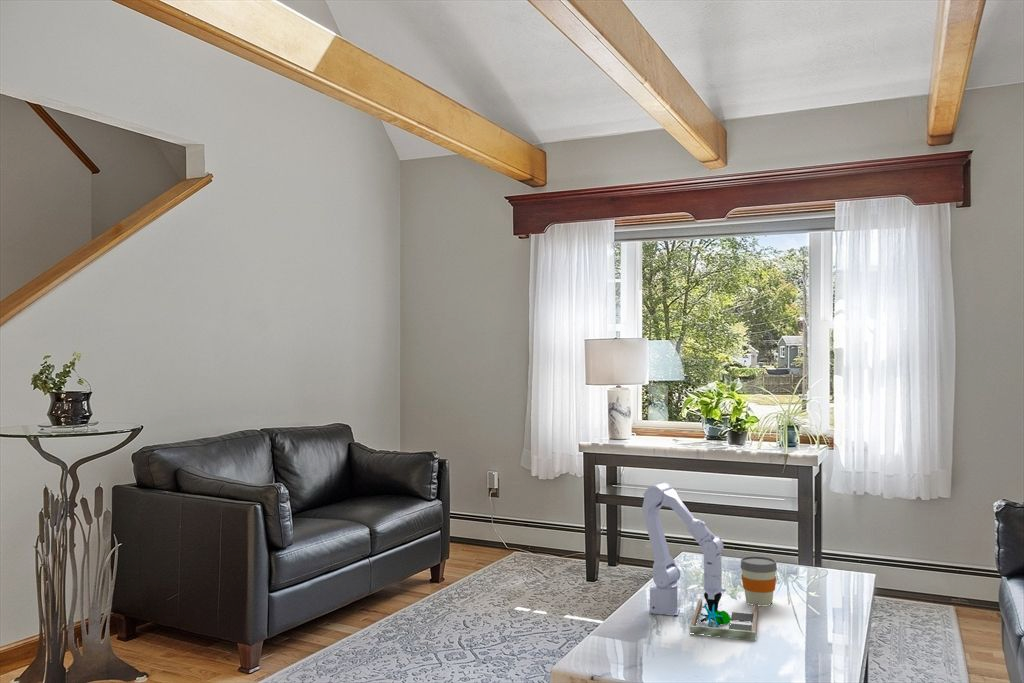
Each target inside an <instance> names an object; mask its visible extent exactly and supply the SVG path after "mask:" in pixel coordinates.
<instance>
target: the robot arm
mask: <svg viewBox="0 0 1024 683" xmlns="http://www.w3.org/2000/svg"><path fill="white" fill-rule="evenodd" d="M643 497H644V498H643V502H642V508H641V509H642V510H641V511H642V515H643V519H644V523H645V527H646V531H647V535H648V537H649V542H650V545H651V550H652V553H653V554H652V555H653V557H654V561H653V565H652V570H653V575H652V580H653V582H654V584H651V585H650V587H649V588H650V589H649V614H651V613H653V614H654V615H662V614H666V615H665V616H674V615H677V616H678V615H679V612H680V610H681V608H680V607H679V605H678V604H679V602H678V599H679V598H678V596H679V595H678V581H679V580H680V578H681V571H680V569H679V567H678V566H677V564H676V561H675V559H674V558H673V557H672V556H671V555H670V550H669V547H668V543H667V539H666V536H665V531H664V527H663V524H662V520H661V516H660V512H659V511H660V510H661V508H662V507H666V508H670V509H671V510H673V511H674V512H675V514H676V515H677V516H678V517H679V518H680V519H681V521H683V522H684V523H685V524H686V526H687V527H686V530H687V532H688V534H690V536H691V537H692V538H693V539H694V540H695V541H696V543H698V545H699V546H700V552H701V553H702V555H703V590H704V593H703V597H704V599H705V601H706V604H707V608H708V609H709V610H710V611H711V612H712V607H713V606H712V604H714V611H716V610H718V609H719V603H720V601H721V598H722V596H723V592H725V591H726V587H722V586H723V585H722V584H723V583H722V579H723V578H722V577H723V576H722V575H723V574H722V552H723V551H724V549H725V548H724V547H725V545H724V542H723V541H722V539H721V537H719V536H716V535H715V534H714V533H712V532H711V531H710V529H709V528H708V527H707V526H706V525H707V524H706V522H705V521H702V520H701V519H697V518H695V517H694V516H693V514H692V513H691V512H690V511H689V510H690V509H688V508H687V506H686V505H685V504H684V502H683V501H682V500H681V498H680V497H679V495H678V493H677V491H676V490H675V489H674V488H673V487H672V485H671V484H670V483H668V482H665V481H664V482H660V483H658V484H654V485H649V487H648V488H646V490H645V491H644V493H643ZM718 611H719V610H718Z"/></svg>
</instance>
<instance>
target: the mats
mask: <svg viewBox="0 0 1024 683" xmlns="http://www.w3.org/2000/svg"><path fill="white" fill-rule="evenodd" d="M730 618H731V621H733V620H739V621H738V622H744V621H751V622H750V623H753V621H752V620H753V618H754V613H747V612H731V616H730ZM730 624H731V625H730ZM752 627H753V624H752V625H751V624H741V623H732V622H730V623H729V627H728V629H735V630H745V631H752V630H751V629H752Z"/></svg>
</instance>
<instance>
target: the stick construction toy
mask: <svg viewBox="0 0 1024 683" xmlns="http://www.w3.org/2000/svg"><path fill="white" fill-rule="evenodd" d="M712 606H713V607H712V612H711V611H710V610H709V609H708V604H707V603H705V604H704V605H702V608H704V609H705V610H706V613H707V614H703V613H700V615H699V616H702V617H704V618H702V619H700V620H699V622H700V621H701V622H702V623H703V622H708V627H712V625H711V622H712V621H713V622H714V623H715V625H716V627H718V628H720V627H719V626H721V624H723V625H728V624H729V625H730V623H731V621H732V620H731V616H730V614H729V613H728V612H727V611H725V610H721V611H720V610H716V611H714V604H712ZM702 608H701V609H702ZM701 622H700V623H701Z"/></svg>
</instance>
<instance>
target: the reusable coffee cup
mask: <svg viewBox="0 0 1024 683" xmlns="http://www.w3.org/2000/svg"><path fill="white" fill-rule="evenodd" d="M740 568H741V582H742V588H743V589H744V590H743V591H744V596H745V603H747V604H748V603H749V605H751V604H753V605H752V606H755V604H758V605H761V606H760V607H763V606H762V605H769V604H771V603H772V604H773V601H774V600H773V597H774V592H775V591H776V583H777V576H776V575H777V570H778V568H777V561H776V559H774V558H772V557H768V556H767V557H766V556H760V555H759V556H758V555H756V556H755V555H751V556H744V557H742V558H741V560H740ZM772 604H771V605H772ZM769 606H770V605H769Z"/></svg>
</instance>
